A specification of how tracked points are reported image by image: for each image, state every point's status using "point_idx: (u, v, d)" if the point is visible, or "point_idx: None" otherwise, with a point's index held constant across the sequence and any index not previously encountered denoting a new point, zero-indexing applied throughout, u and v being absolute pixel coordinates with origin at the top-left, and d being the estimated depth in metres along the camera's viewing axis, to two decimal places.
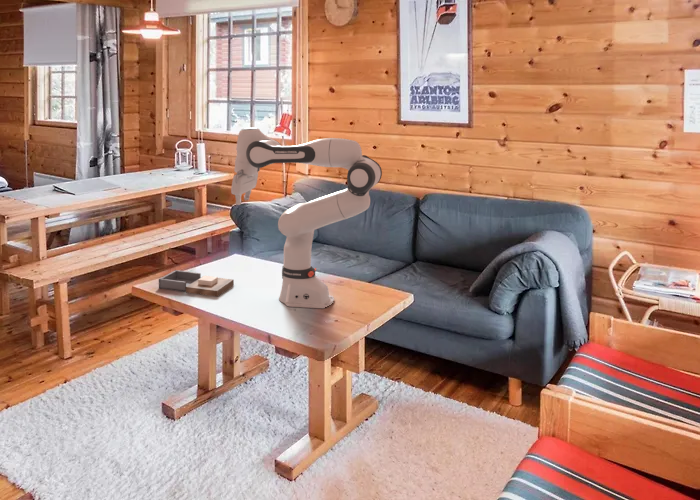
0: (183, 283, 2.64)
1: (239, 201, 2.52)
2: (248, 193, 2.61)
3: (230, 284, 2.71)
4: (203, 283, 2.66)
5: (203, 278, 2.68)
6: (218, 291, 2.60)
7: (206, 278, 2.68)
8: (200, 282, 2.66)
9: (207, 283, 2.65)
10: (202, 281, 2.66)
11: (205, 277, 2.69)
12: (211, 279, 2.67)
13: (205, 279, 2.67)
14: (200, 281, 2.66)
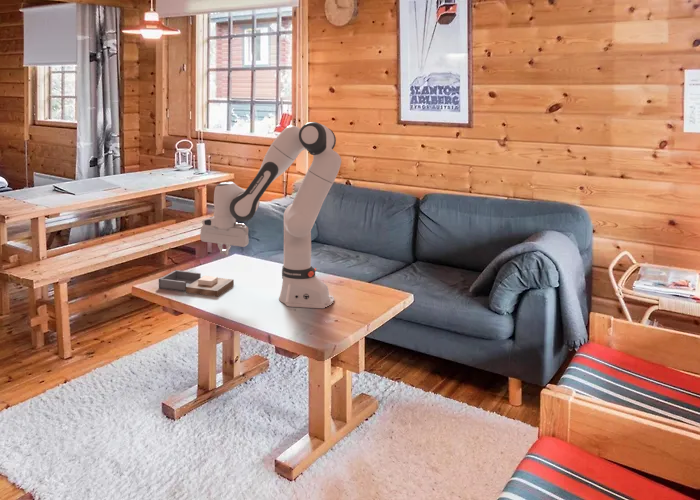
0: (183, 283, 2.64)
1: None
2: (221, 247, 2.63)
3: (230, 284, 2.71)
4: (203, 283, 2.66)
5: (203, 278, 2.68)
6: (218, 291, 2.60)
7: (206, 278, 2.68)
8: (200, 282, 2.66)
9: (207, 283, 2.65)
10: (202, 281, 2.66)
11: (205, 277, 2.69)
12: (211, 279, 2.67)
13: (205, 279, 2.67)
14: (200, 281, 2.66)
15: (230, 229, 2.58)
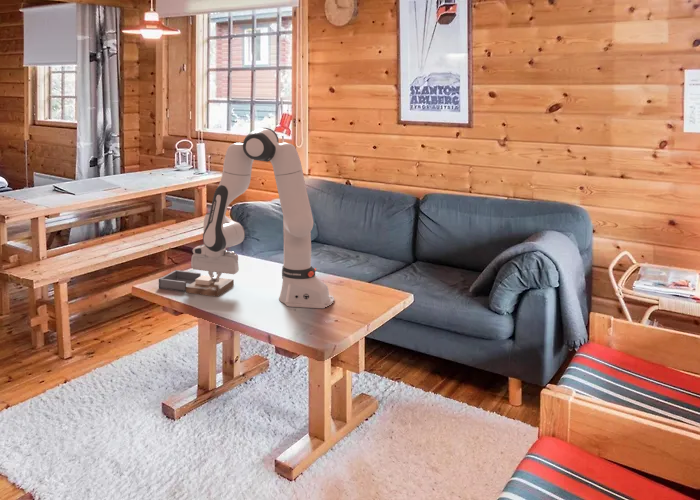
0: (183, 283, 2.64)
1: (218, 278, 2.68)
2: (212, 274, 2.68)
3: (230, 284, 2.71)
4: (200, 283, 2.66)
5: (200, 278, 2.68)
6: (218, 291, 2.60)
7: (203, 277, 2.69)
8: (197, 282, 2.67)
9: (204, 283, 2.66)
10: (199, 281, 2.66)
11: (202, 277, 2.70)
12: (208, 279, 2.67)
13: (202, 279, 2.67)
14: (197, 281, 2.66)
15: (220, 257, 2.62)
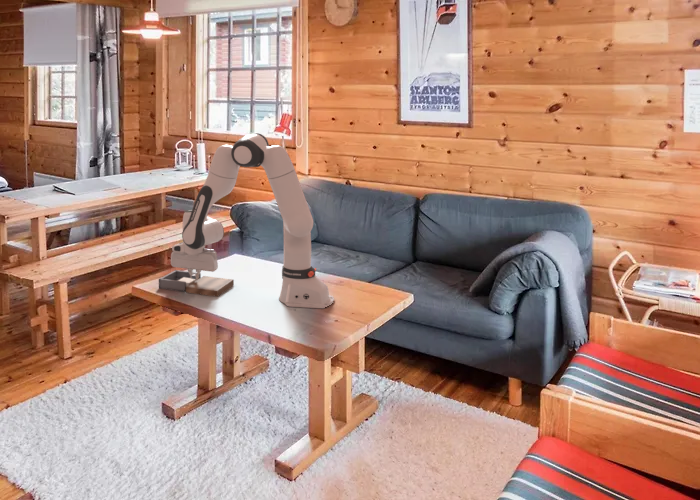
0: (183, 283, 2.64)
1: (198, 275, 2.70)
2: (192, 272, 2.70)
3: (230, 284, 2.71)
4: None
5: (182, 280, 2.71)
6: (218, 291, 2.60)
7: (184, 279, 2.71)
8: None
9: None
10: None
11: (184, 279, 2.72)
12: (189, 281, 2.70)
13: (184, 281, 2.69)
14: None
15: (199, 255, 2.65)
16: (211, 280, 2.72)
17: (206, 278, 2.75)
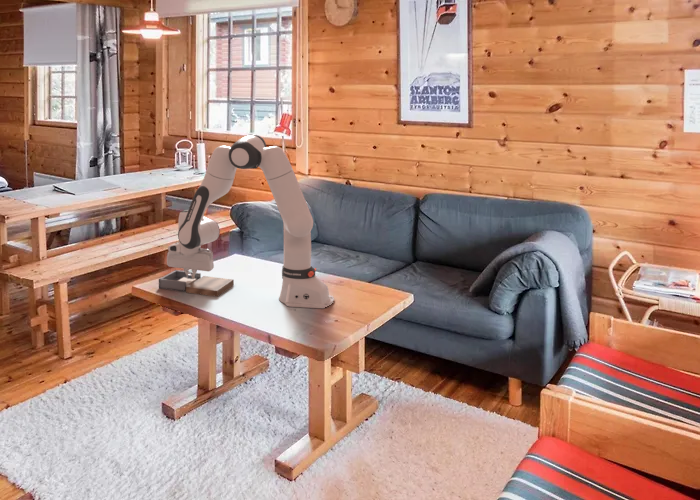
0: (183, 283, 2.64)
1: (194, 275, 2.70)
2: (188, 271, 2.70)
3: (230, 284, 2.71)
4: None
5: (182, 280, 2.71)
6: (218, 291, 2.60)
7: (184, 279, 2.71)
8: None
9: None
10: None
11: (184, 279, 2.72)
12: (189, 281, 2.70)
13: (184, 281, 2.69)
14: None
15: (195, 254, 2.65)
16: (211, 280, 2.72)
17: (206, 278, 2.75)
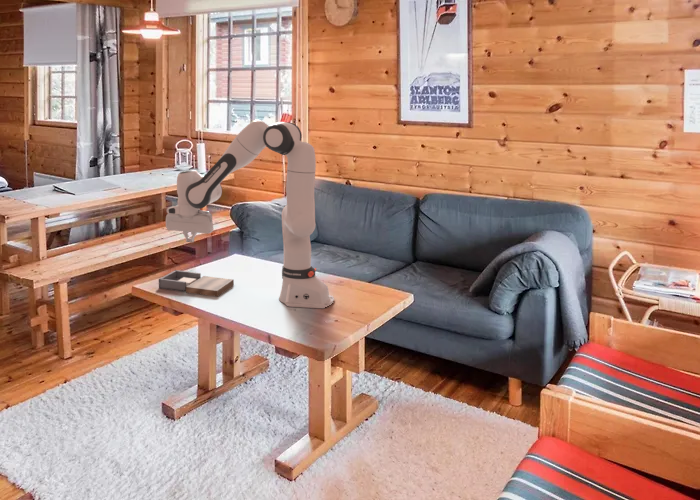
0: (183, 283, 2.64)
1: (193, 238, 2.66)
2: (187, 235, 2.66)
3: (230, 284, 2.71)
4: None
5: (182, 280, 2.71)
6: (218, 291, 2.60)
7: (184, 279, 2.71)
8: None
9: None
10: None
11: (184, 279, 2.72)
12: (189, 281, 2.70)
13: (184, 281, 2.69)
14: None
15: (194, 216, 2.61)
16: (211, 280, 2.72)
17: (206, 278, 2.75)
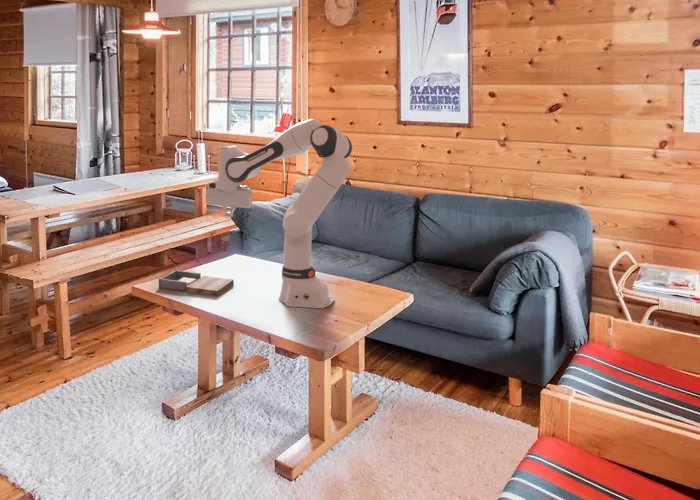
0: (183, 283, 2.64)
1: (232, 213, 2.73)
2: (226, 209, 2.73)
3: (230, 284, 2.71)
4: None
5: (182, 280, 2.71)
6: (218, 291, 2.60)
7: (184, 279, 2.71)
8: None
9: None
10: None
11: (184, 279, 2.72)
12: (189, 281, 2.70)
13: (184, 281, 2.69)
14: None
15: (234, 191, 2.68)
16: (211, 280, 2.72)
17: (206, 278, 2.75)
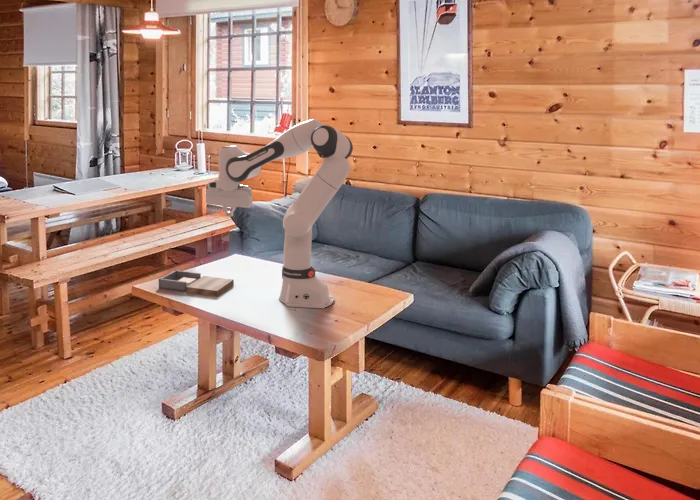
0: (183, 283, 2.64)
1: (232, 212, 2.73)
2: (226, 209, 2.73)
3: (230, 284, 2.71)
4: None
5: (182, 280, 2.71)
6: (218, 291, 2.60)
7: (184, 279, 2.71)
8: None
9: None
10: None
11: (184, 279, 2.72)
12: (189, 281, 2.70)
13: (184, 281, 2.69)
14: None
15: (234, 191, 2.68)
16: (211, 280, 2.72)
17: (206, 278, 2.75)
